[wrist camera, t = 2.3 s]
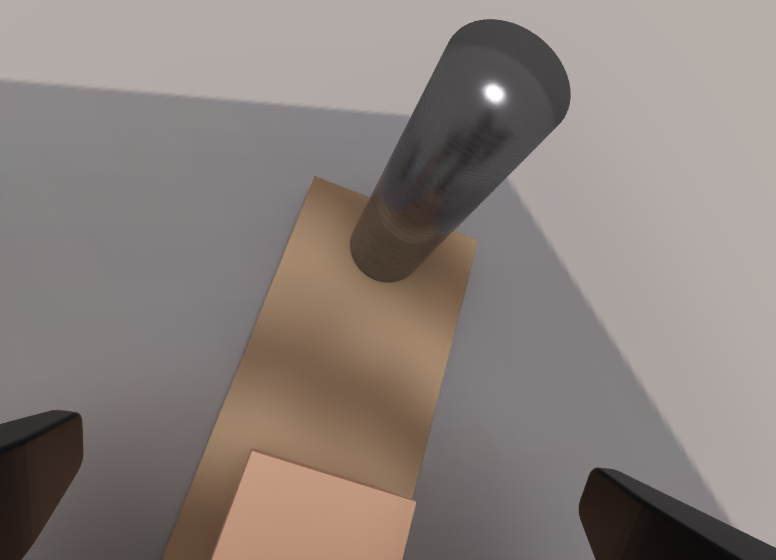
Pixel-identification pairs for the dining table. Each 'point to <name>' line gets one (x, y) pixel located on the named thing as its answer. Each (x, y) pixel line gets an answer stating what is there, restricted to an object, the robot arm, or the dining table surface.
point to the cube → (310, 515)
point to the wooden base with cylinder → (378, 286)
